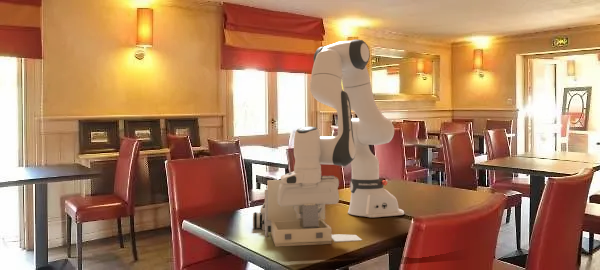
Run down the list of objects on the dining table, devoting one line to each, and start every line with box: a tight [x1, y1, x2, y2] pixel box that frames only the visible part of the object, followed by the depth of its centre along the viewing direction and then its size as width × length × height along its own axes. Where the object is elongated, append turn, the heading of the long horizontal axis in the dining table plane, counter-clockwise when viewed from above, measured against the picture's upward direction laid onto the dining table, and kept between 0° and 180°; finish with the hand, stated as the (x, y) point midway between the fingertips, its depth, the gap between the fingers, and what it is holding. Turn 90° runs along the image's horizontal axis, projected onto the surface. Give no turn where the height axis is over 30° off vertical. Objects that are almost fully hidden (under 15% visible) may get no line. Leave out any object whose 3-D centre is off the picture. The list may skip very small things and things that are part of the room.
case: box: [264, 179, 333, 248], centre depth 151 cm, size 21×15×19 cm
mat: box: [332, 233, 363, 243], centre depth 153 cm, size 9×9×1 cm
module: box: [299, 203, 319, 229], centre depth 151 cm, size 5×7×8 cm
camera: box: [252, 202, 271, 233], centre depth 169 cm, size 16×9×10 cm, turn 3°
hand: (308, 218), depth 151 cm, fingers closed on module, 5 cm apart
